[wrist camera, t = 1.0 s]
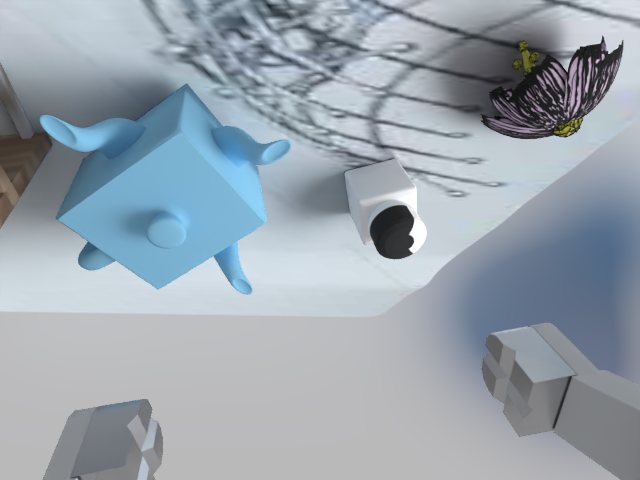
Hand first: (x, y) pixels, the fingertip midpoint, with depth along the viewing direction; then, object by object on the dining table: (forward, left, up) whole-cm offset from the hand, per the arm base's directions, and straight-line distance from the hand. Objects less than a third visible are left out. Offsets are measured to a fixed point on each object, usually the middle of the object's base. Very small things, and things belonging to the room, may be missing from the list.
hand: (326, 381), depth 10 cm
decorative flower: (+9, +33, -40) cm, 52 cm away
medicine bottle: (+22, +15, -40) cm, 48 cm away
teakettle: (+14, -8, -40) cm, 43 cm away
